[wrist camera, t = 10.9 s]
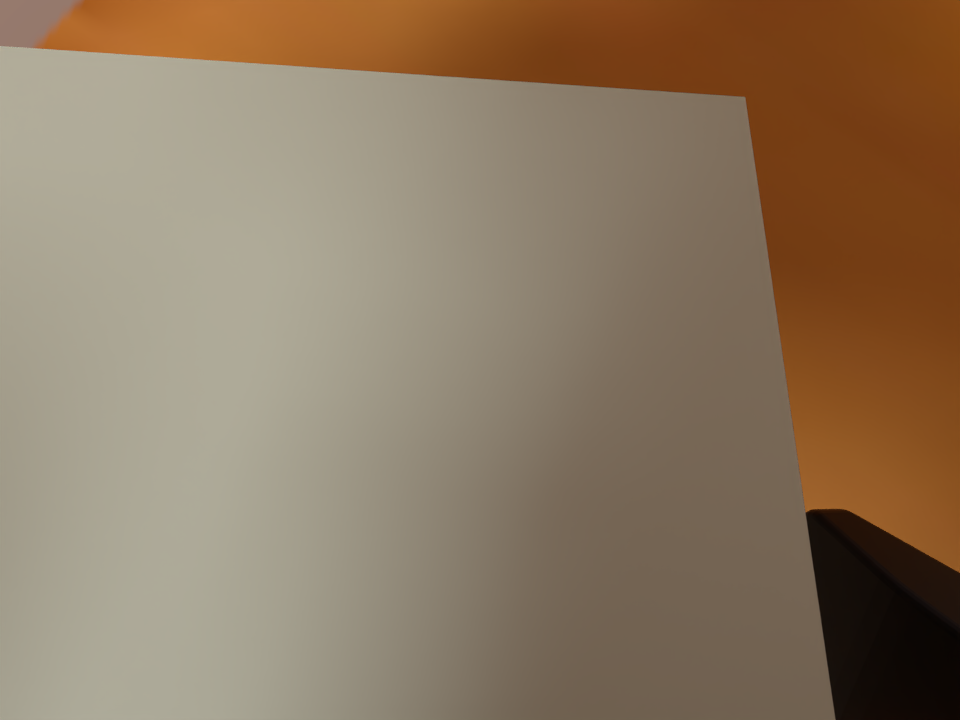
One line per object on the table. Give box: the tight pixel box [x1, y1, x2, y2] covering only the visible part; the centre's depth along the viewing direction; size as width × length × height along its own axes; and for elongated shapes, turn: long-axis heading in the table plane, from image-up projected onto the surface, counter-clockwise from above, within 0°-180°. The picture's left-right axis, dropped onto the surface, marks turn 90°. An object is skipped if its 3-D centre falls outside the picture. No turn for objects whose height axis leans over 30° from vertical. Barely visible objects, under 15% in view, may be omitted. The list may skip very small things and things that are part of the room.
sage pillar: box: [0, 46, 835, 720], centre depth 11 cm, size 6×6×12 cm
